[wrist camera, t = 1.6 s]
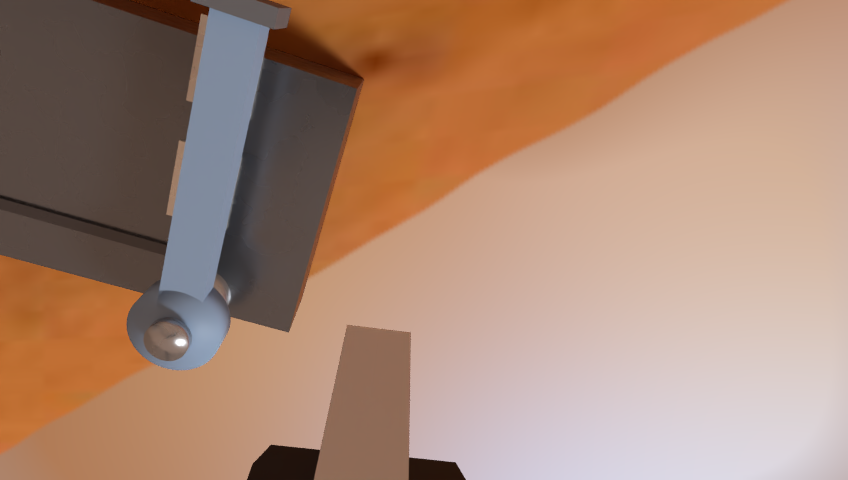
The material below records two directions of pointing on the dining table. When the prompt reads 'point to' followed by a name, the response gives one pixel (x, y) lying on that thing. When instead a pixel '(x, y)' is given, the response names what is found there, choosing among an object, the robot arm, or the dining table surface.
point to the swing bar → (208, 179)
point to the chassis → (157, 155)
